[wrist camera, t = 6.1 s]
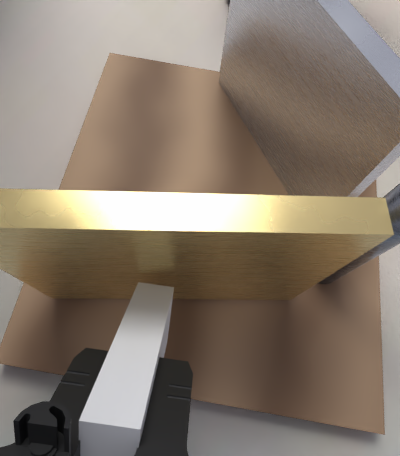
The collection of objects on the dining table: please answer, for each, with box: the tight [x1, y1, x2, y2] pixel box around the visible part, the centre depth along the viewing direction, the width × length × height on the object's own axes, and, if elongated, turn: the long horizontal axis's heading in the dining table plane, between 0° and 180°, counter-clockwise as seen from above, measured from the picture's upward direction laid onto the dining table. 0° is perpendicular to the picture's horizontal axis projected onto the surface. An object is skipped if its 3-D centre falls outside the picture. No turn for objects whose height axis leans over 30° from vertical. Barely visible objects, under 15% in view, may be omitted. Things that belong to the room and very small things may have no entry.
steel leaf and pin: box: [219, 0, 400, 284], centre depth 18 cm, size 16×3×14 cm, turn 26°
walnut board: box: [0, 53, 385, 435], centre depth 22 cm, size 20×22×1 cm
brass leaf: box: [0, 189, 394, 300], centre depth 15 cm, size 13×1×10 cm, turn 90°
